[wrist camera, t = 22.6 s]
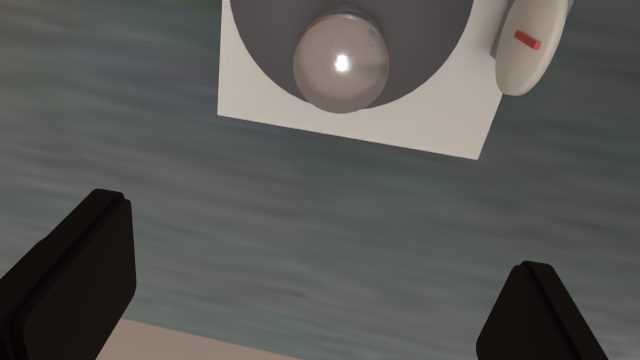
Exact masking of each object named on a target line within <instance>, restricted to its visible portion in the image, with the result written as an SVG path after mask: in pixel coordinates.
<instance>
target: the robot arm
mask: <svg viewBox="0 0 640 360" xmlns="http://www.w3.org/2000/svg"><path fill="white" fill-rule="evenodd" d="M135 290H136V268H135V254H134V239H133V224H132V210H131V202H130V200H127V199H125V198H124V195H123V193H121V192H116V191H111V190H105V189H99V188H98V189H95V190H93V191H92V192H91V193H90V194H89V195H88V196H87V197H86V198H85V199H84V200H83V201H82V202H81V203H80V204H79V205H78V206H77V207H76V208H75V209H74V210H73V211H72V212H71V213H70V214H69V215H68V216H67V217H66V218H65V219H64V220H63V221H62V222H61V223H60V224H59V225H58V226H57V227H56V228H55V229H54V230H53V231H52V232H51V233H50V234H49V235H48V236H47V237H45V238H43V239H42V240H41V241H39V242H38V243H37V244H36V245H35V246H34V247H33V248H32V249H31V250H30V251H29V252H28V253H27V254H26V255H25V256H24V257H22V258H21V259H20V260H19V261H18V262H17V263H16V264H15V265H14V266H13V267H12V268H11V269H10V270H9V271H8V272H7V273H6V274H5V275H4V276H3V277H2V278H1V279H0V360H95V359H96V358H97V356H98V354H99V353H100V351H101V349H102V348H103V346H104V344H105V343H106V341H107V339H108V338H109V336H110V334H111V333H112V331H113V329H114V328H115V326H116V325H117V323H118V321H119V320H120V318H121V316H122V315H123V313H124V311H125V310H126V308H127V306H128V305H129V303H130V301H131V300H132V298H133V296H134V293H135ZM476 353H477V357H478V360H608V358H607V356H606V355H605V353H604V351H603V350H602V348H601V346H600V345H599V343H598V341H597V340H596V338H595V336H594V335H593V333H592V331H591V330H590V328H589V326H588V325H587V323H586V321H585V320H584V318H583V316H582V315H581V313H580V311H579V310H578V308H577V306H576V305H575V303H574V301H573V300H572V298H571V296H570V295H569V293H568V291H567V290H566V288H565V286H564V285H563V283H562V281H561V280H560V278H559V276H558V275H557V273H556V271H555V270H554V268H553V267H552V266H551V265H549V264H544V263H538V262H532V261H523V262H522V263H521V264H520V265H515V266H514V267H513V269H512V270H511V272H510V274H509V276H508V278H507V280H506V283H505V285H504V287H503V289H502V291H501V293H500V295H499V297H498V299H497V301H496V303H495V305H494V307H493V309H492V311H491V313H490V315H489V317H488V319H487V321H486V323H485V325H484V327H483V329H482V331H481V333H480V335H479V337H478V339H477V343H476Z"/></svg>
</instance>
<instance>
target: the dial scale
mask: <svg viewBox="0 0 640 360" xmlns="http://www.w3.org/2000/svg"><path fill="white" fill-rule="evenodd" d="M573 2H574V0H222V22H221V44H220V67H219V90H218V112H217V115H221V116H227V117H233V118H238V119H244V120H250V121H256V122H261V123H267V124H273V125H279V126H285V127H290V128H296V129H302V130H308V131H313V132H319V133H325V134H331V135H337V136H342V137H348V138H354V139H360V140H365V141H371V142H377V143H383V144H389V145H394V146H400V147H406V148H412V149H417V150H423V151H429V152H435V153H441V154H446V155H452V156H458V157H464V158H469V159H475V160H478V157H479V155H480V152H481V150H482V147H483V144H484V142H485V139H486V136H487V134H488V131H489V129H490V126H491V123H492V121H493V118H494V115H495V113H496V110H497V108H498V105H499V102H500V100H501V97H502V94H507V95H513V96H520V95H523V94H525V93H527V92H528V91H529V90H530V89H531V88H532V87H534V86H535V84H536V83H537V82H538V81H539V79H541V78H542V76H543V74H544V72H545V71H546V69H547V67H548V65H549V64H550V62H551V60H552V58H553V55H554V53H555V51H556V49H557V46H558V43H559V41H560V38H561V35H562V31H563V28H564V24H565V21H566V19H567V16H568V14H569V11H570V9H571V7H572V4H573ZM342 4H345V5H352V6H356V7H358V8H361V9H363V10H364V11H366V12H367V13H368V14H370V15H371V16H372V17H373V18H374V20H375V21H376V22H377V24H378V26H379V28H380V30H381V32H382V36H383V39H384V42H385V45H386V49H387V52H388V57H389V74H388V78H387V82H386V84H385V86H384V88H383V90H382V92H381V93H380V95H379V96H378V97H377V98H376V99H375V100H374V101H373V102H372V103H371V104H369V105H368V106H366V107H365V108H363V109H361V110H358V111H355V112H352V113H346V114H337V113H330V112H326V111H324V110H321V109H319V108H317V107H315V106H314V105H313V104H311V103H310V102H309V101H308V100H307V99H306V98H305V97H304V96H303V95H302V93H301V92H300V90H299V88H298V86H297V84H296V81H295V78H294V73H293V59H294V54H295V51H296V48H297V46H298V44H299V42H300V40H301V37H302V35H303V33H304V31H305V29H306V27H307V25H308V24H309V22H310V21H311V19H312V18H313V17H314V16H315V15H316V14H318V13H319V12H320V11H322V10H323V9H326V8H328V7H331V6H334V5H342Z"/></svg>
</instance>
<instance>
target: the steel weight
mask: <svg viewBox="0 0 640 360" xmlns="http://www.w3.org/2000/svg"><path fill="white" fill-rule="evenodd" d="M293 73H294V78H295V81H296V84H297V86H298V88H299V90H300V92H301V93H302V95H303V96H304V97H305V98H306V99H307V100H308V101H309V102H310V103H311V104H313V105H314V106H315V107H317V108H319V109H321V110H324V111H326V112H330V113H337V114H346V113H352V112H355V111H358V110H361V109H363V108H365V107H366V106H368V105H369V104H371V103H372V102H373V101H374V100H375V99H376V98H377V97H378V96H379V95H380V93H381V92H382V90H383V88H384V86H385V84H386V82H387V78H388V74H389V57H388V52H387V49H386V45H385V42H384V39H383V36H382V32H381V30H380V28H379V26H378V24H377V22H376V21H375V20H374V18H373V17H372V16H371V15H370V14H368V13H367V12H366V11H364V10H363V9H361V8H358V7H356V6H352V5H345V4H342V5H334V6H331V7H328V8H326V9H323V10H322V11H320V12H319V13H318V14H316V15H315V16H314V17H313V18H312V19H311V21H310V22H309V24H308V25H307V27H306V29H305V31H304V33H303V35H302V37H301V40H300V42H299V44H298V46H297V48H296V51H295V54H294V59H293Z"/></svg>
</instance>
